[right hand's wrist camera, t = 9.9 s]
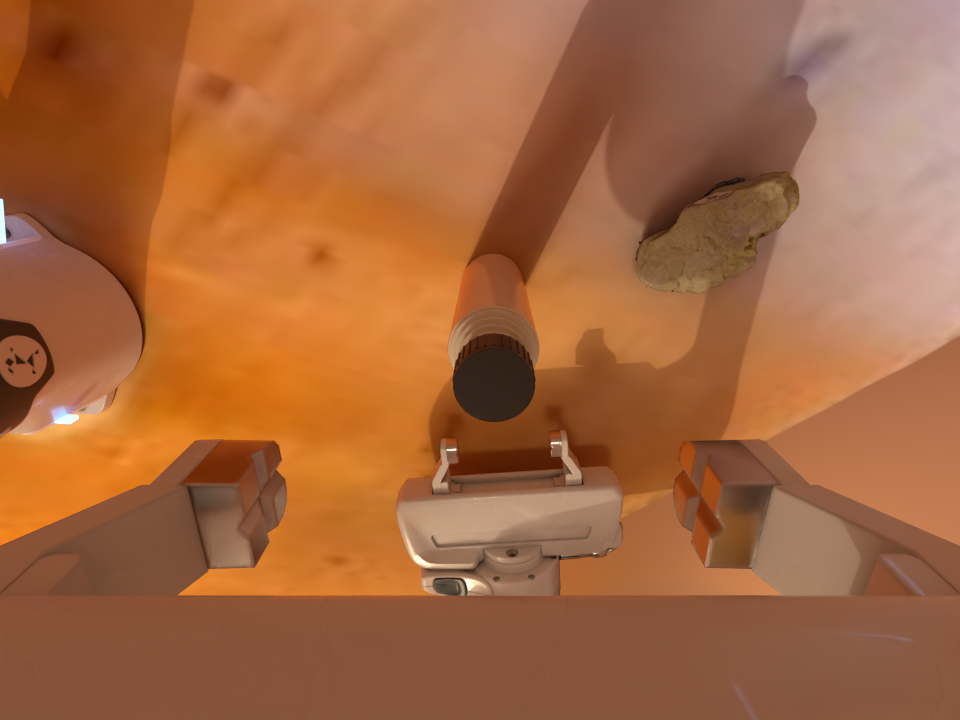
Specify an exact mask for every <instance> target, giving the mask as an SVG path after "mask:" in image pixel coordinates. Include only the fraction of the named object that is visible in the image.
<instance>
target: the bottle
mask: <svg viewBox="0 0 960 720" xmlns="http://www.w3.org/2000/svg"><path fill="white" fill-rule="evenodd" d="M485 333H486V334H491V333H498V334H503V335H507V336H509V337H510V336H511V337H512V338H514V339H515V340H518V341H519V343H521V344H522V345H524V346H525V349H526V350H527V352H529V355H530V359H532V363H533V368H534V367H535V365H536V363H537V360H538V356H539V341H538V336H537V332H536V329H535V325H534V321H533V317H532V313H531V309H530V305H529V301H528V297H527V293H526V289H525V285H524V281H523V277H522V274H521V271H520V269H519V267H518V266H517V265H516V263H515V262H514V261H512V260H511V259H510V258H508V257H506V256H504V255H501V254H496V253H490V254H484V255H481V256H479V257H477V258H475V259H474V260H473V261H472V262H471V263H470V264H469V265H468V266H467V268H466V269H465V271H464V274H463V277H462V281H461V286H460V291H459V295H458V300H457V304H456V309H455V313H454V318H453V323H452V327H451V332H450V336H449V341H448V356H449V360H450V363H451V365H452V367H453V369H454V367H455V361H456V359H457V358H458V353H459V352H461V350H462V348H463V346H465V345H466V344H467V343H468V342H469V340H472V339H474V338H476V336H481V335H484V334H485Z"/></svg>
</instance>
